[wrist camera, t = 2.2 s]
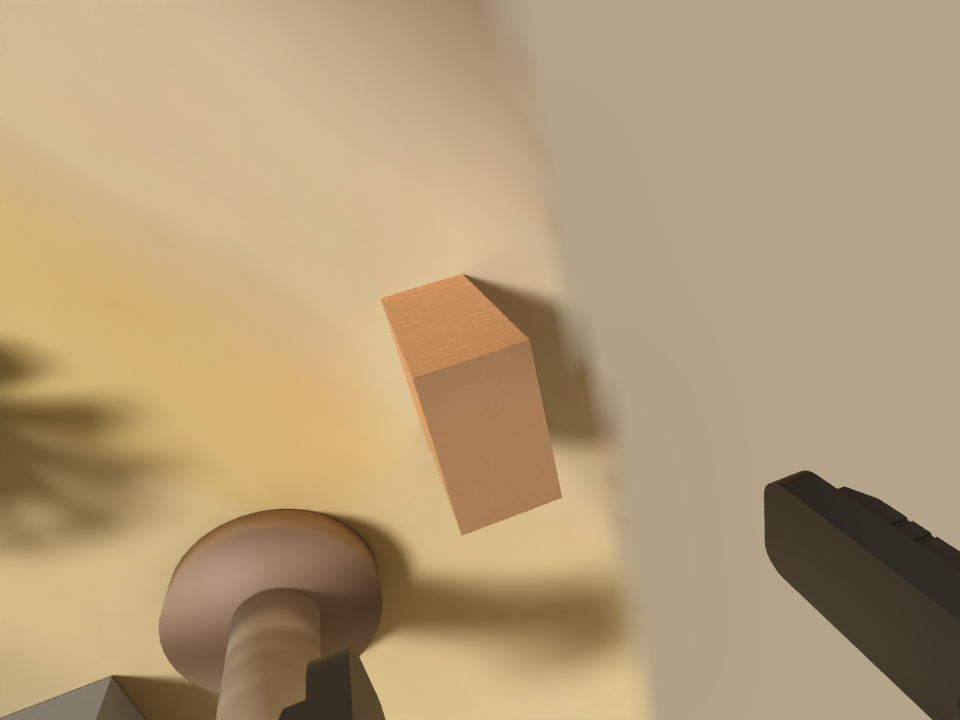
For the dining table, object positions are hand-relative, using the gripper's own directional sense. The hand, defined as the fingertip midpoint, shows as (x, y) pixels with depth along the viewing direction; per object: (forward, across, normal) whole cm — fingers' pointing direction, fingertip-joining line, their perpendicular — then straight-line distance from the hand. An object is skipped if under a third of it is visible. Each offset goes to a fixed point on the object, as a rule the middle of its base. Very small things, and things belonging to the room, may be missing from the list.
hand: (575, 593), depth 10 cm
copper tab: (+12, 0, 0) cm, 12 cm away
